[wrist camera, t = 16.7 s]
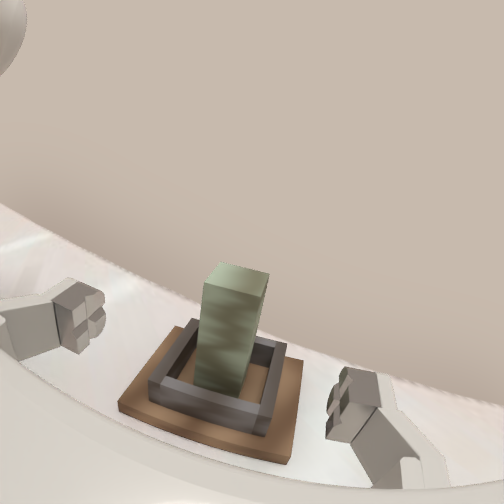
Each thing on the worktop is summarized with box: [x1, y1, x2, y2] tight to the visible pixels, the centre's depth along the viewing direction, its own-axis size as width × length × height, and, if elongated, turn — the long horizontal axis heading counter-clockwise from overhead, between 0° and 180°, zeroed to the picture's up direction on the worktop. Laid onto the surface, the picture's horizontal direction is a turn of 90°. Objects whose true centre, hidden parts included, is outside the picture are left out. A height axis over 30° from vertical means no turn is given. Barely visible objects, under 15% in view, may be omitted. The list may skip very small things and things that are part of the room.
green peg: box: [193, 262, 269, 399], centre depth 27 cm, size 4×4×12 cm
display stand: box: [117, 318, 304, 465], centre depth 29 cm, size 16×14×4 cm
